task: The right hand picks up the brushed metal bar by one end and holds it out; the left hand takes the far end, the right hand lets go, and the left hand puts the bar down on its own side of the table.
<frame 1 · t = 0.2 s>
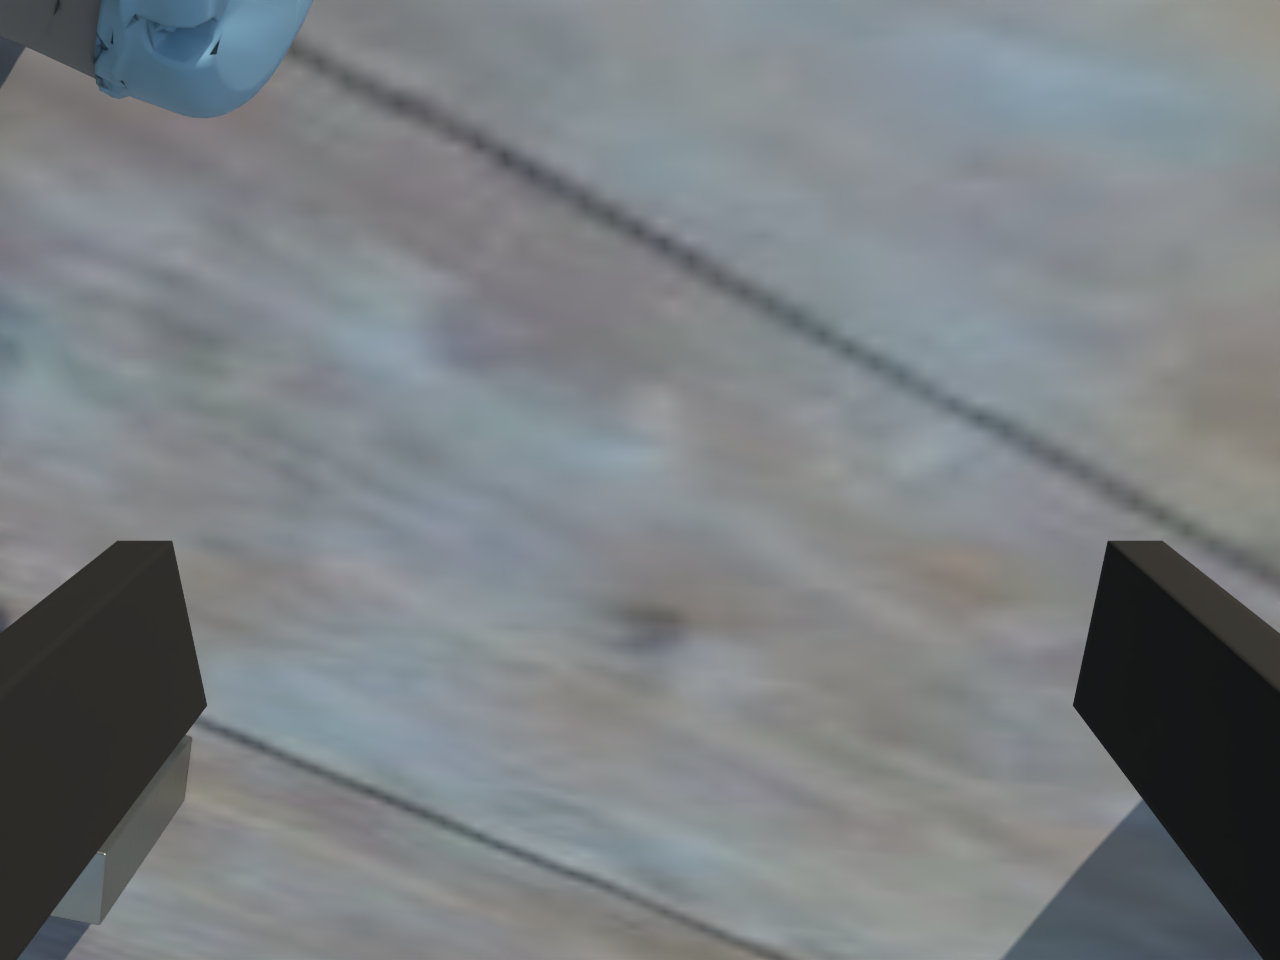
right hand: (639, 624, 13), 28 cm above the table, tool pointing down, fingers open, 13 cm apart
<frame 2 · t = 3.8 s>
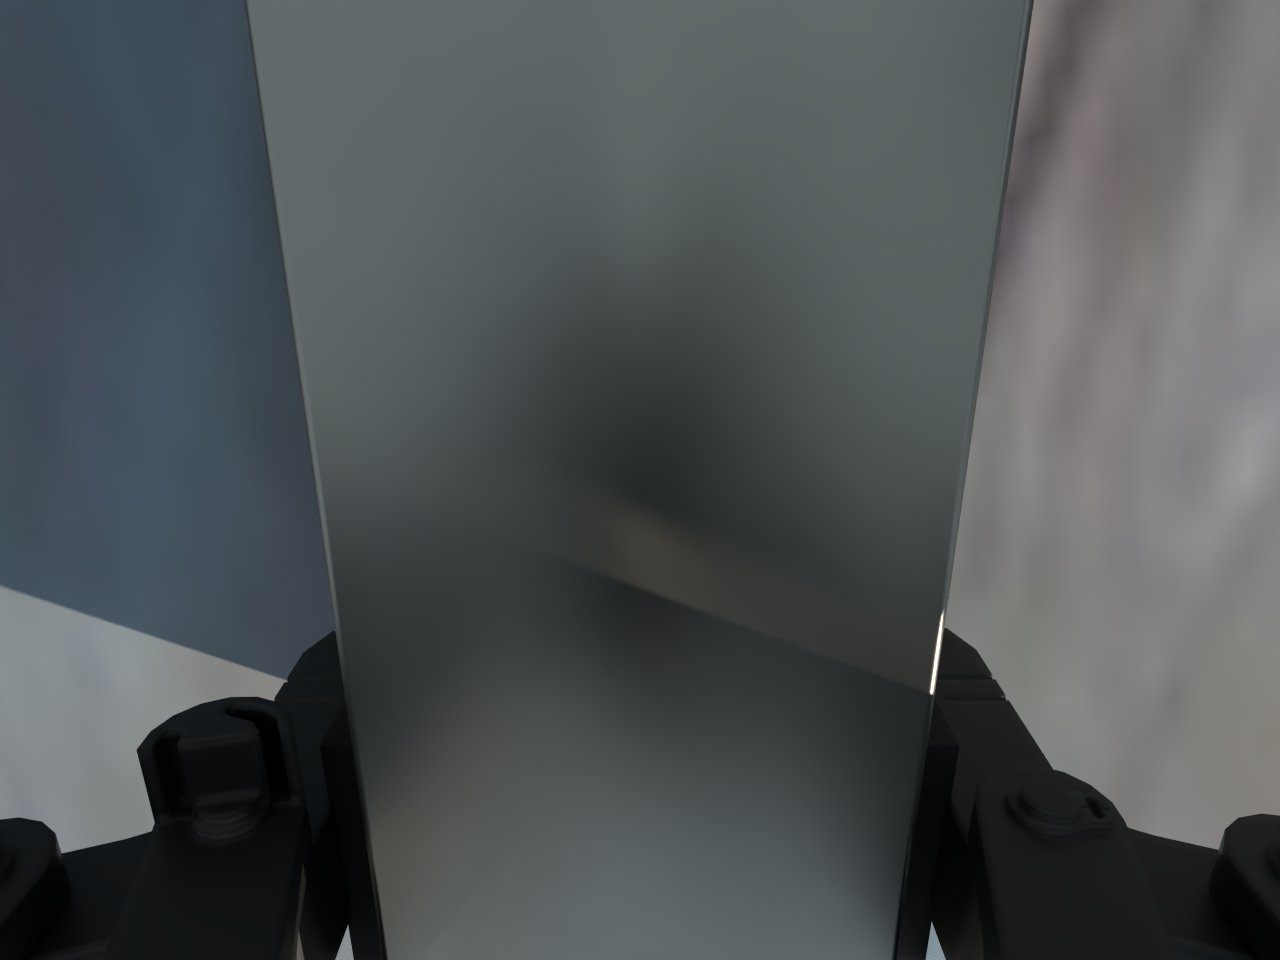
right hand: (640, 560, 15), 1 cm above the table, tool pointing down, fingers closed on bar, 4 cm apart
bar: (639, 24, 12), on the table, touching right hand
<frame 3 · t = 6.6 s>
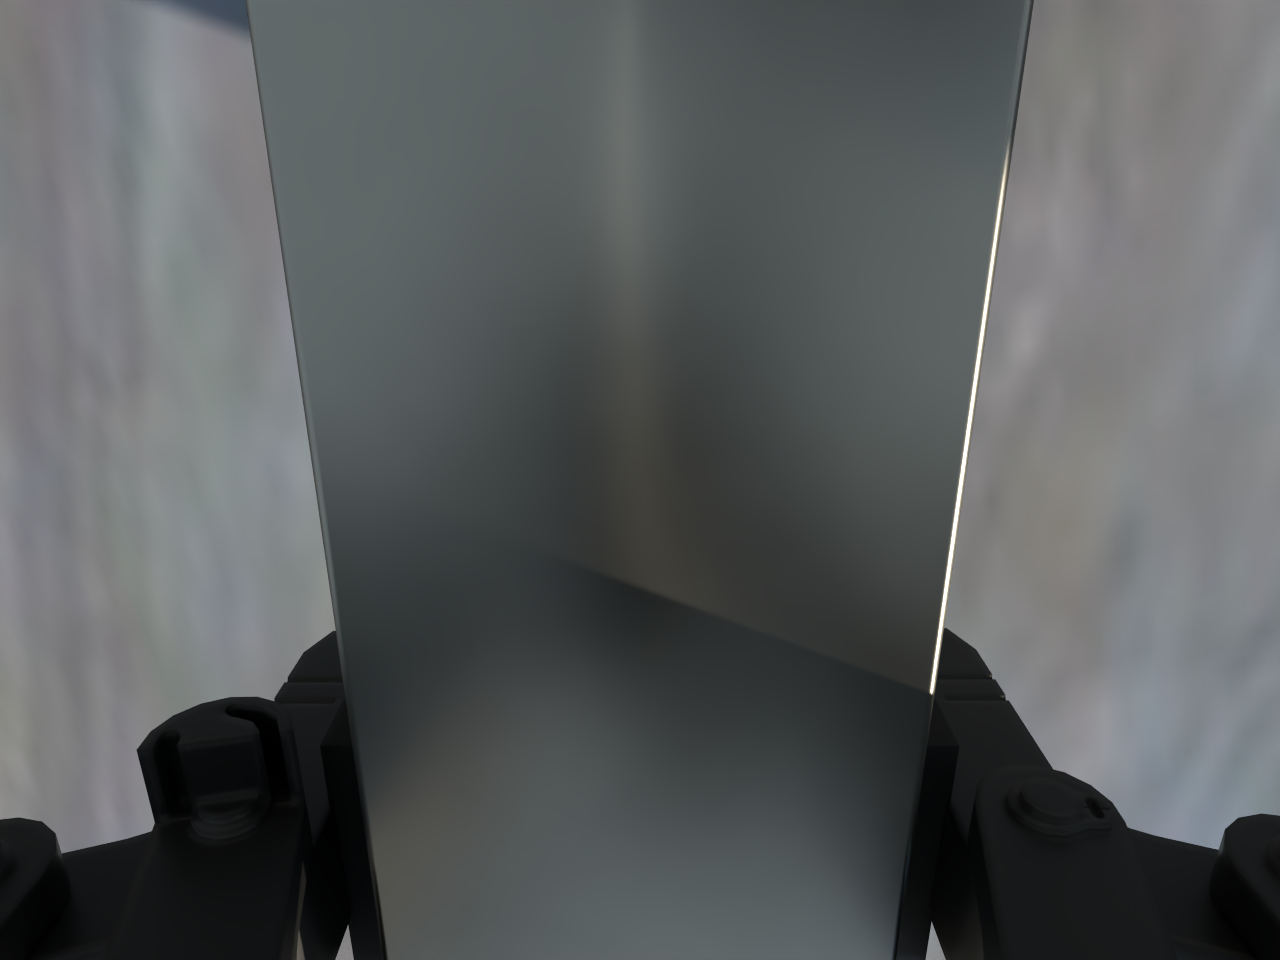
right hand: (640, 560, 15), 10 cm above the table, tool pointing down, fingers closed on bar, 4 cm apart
bar: (639, 23, 12), point 9 cm above the table, touching right hand
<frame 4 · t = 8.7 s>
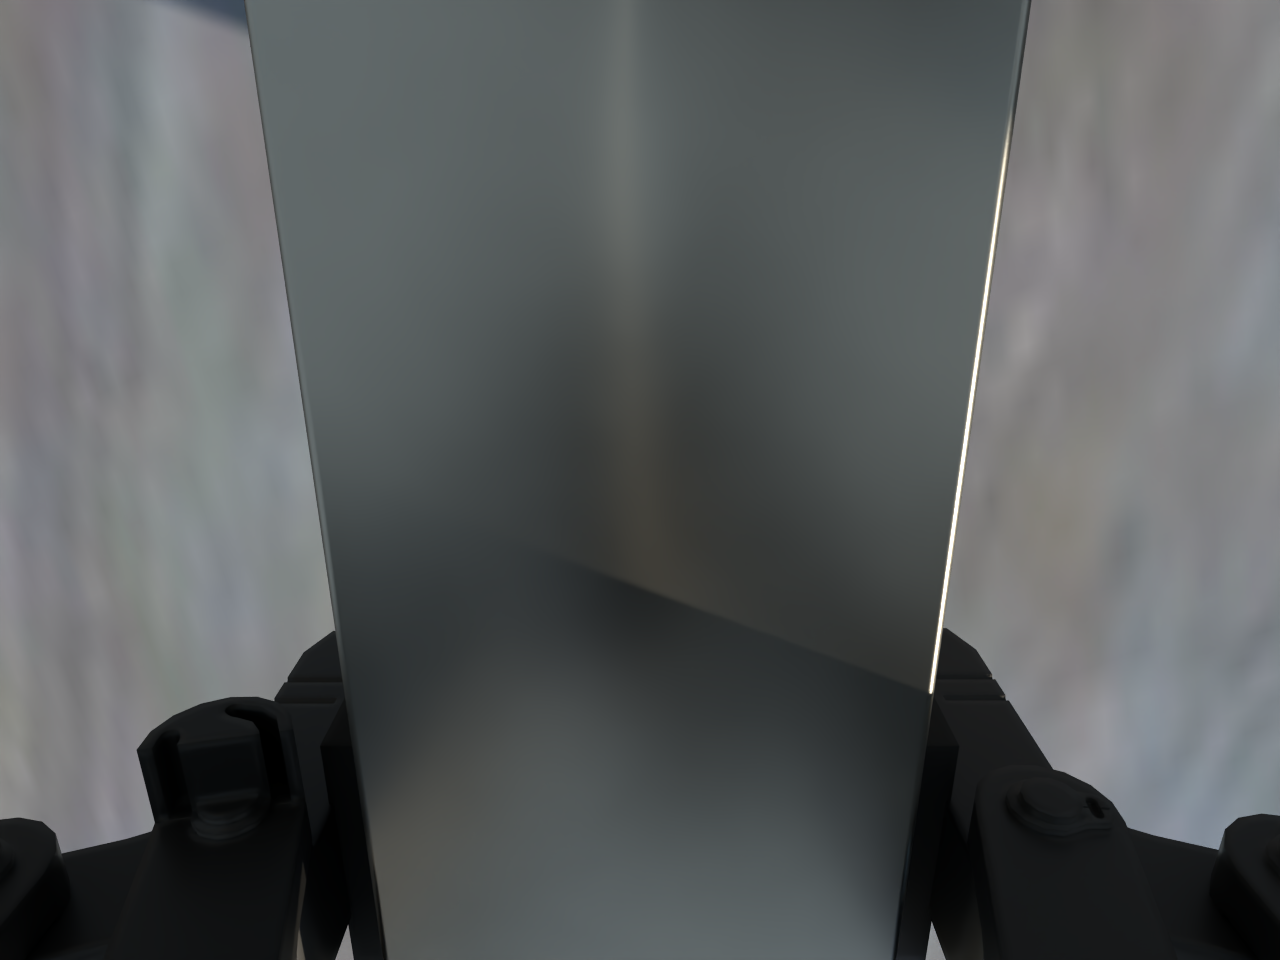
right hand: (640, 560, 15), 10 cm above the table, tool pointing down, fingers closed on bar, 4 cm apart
bar: (638, 23, 12), point 9 cm above the table, touching right hand, left hand
when the right hand's fingers open (10 cm above the table, at t = 9.4 s): bar stays where it is, held by the left hand.
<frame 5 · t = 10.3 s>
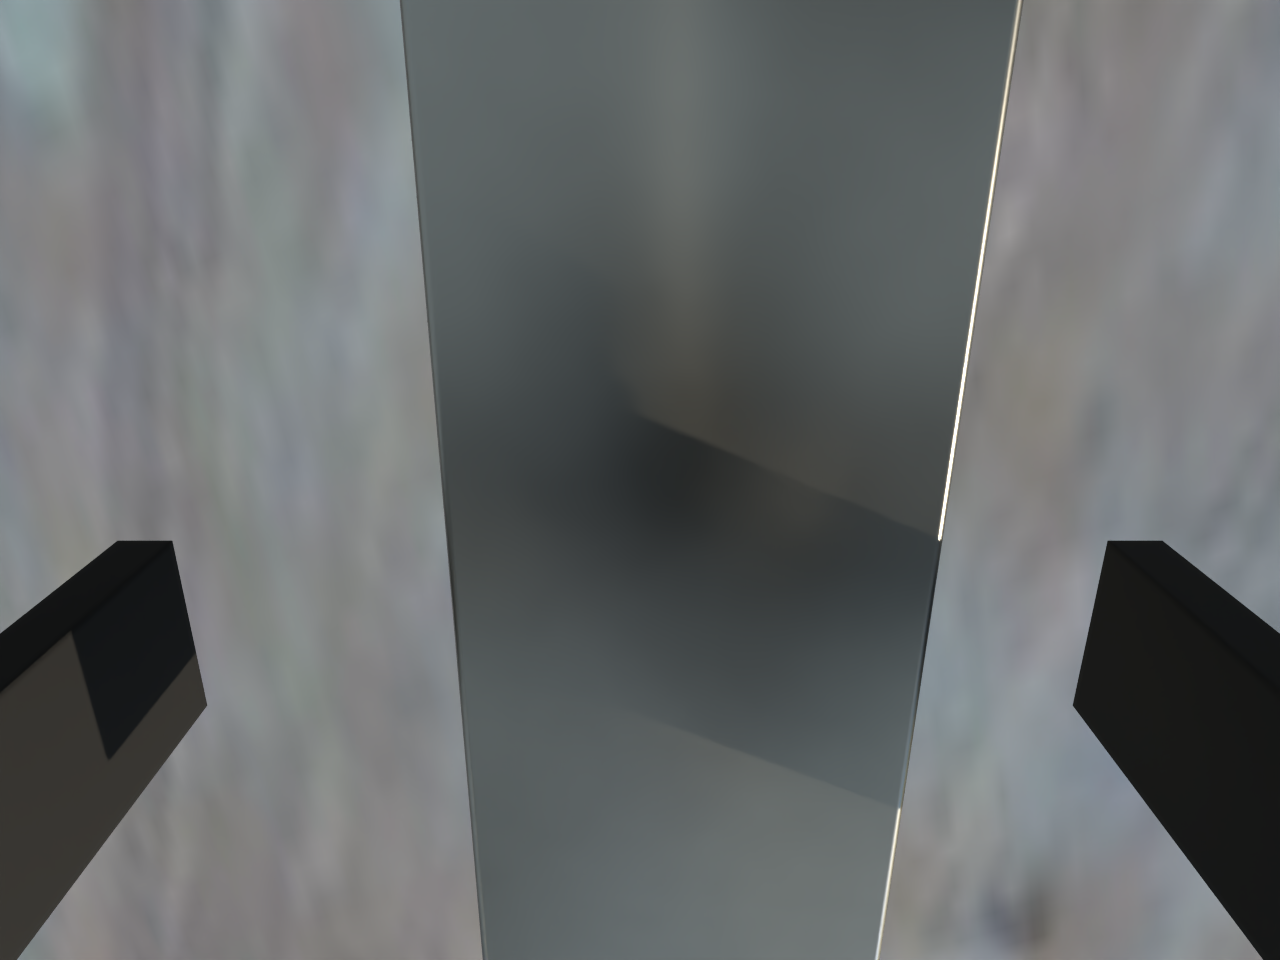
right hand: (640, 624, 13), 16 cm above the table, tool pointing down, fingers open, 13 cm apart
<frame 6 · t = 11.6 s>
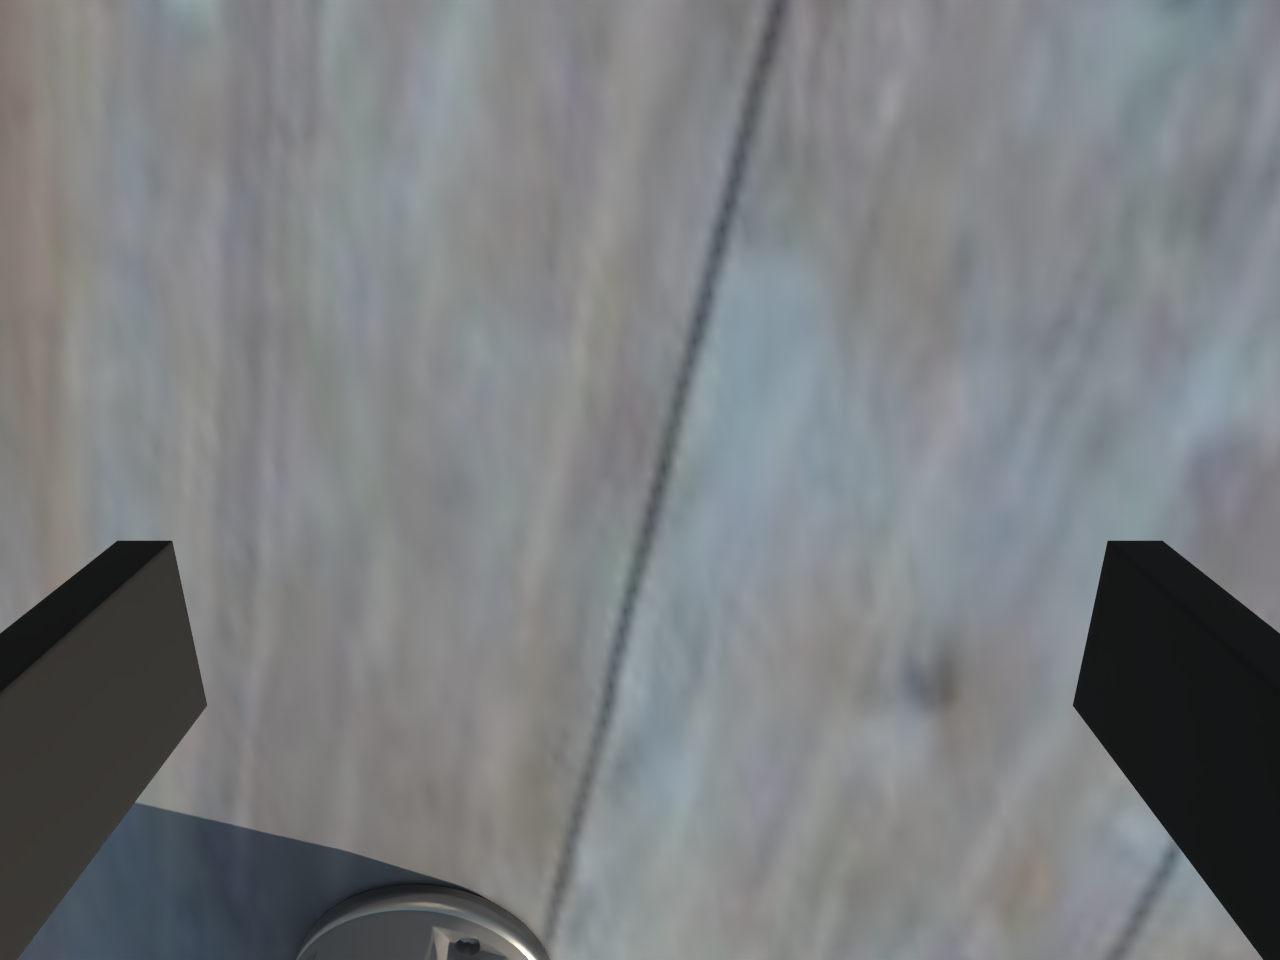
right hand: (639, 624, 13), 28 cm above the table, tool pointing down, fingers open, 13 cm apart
when the left hand's fingers open (2 cm above the table, at t = 14.3 s): bar stays where it is, on the table.
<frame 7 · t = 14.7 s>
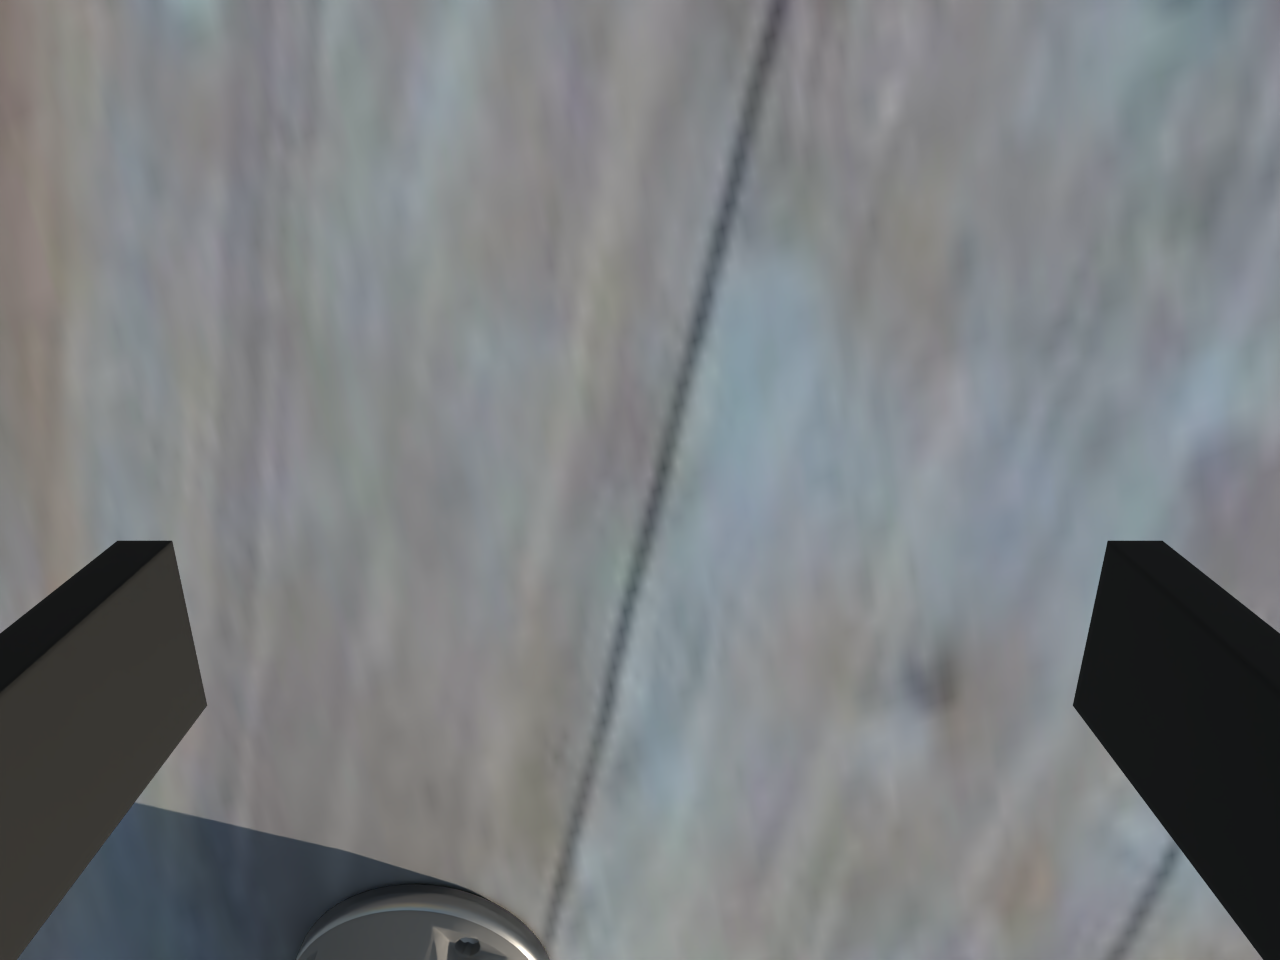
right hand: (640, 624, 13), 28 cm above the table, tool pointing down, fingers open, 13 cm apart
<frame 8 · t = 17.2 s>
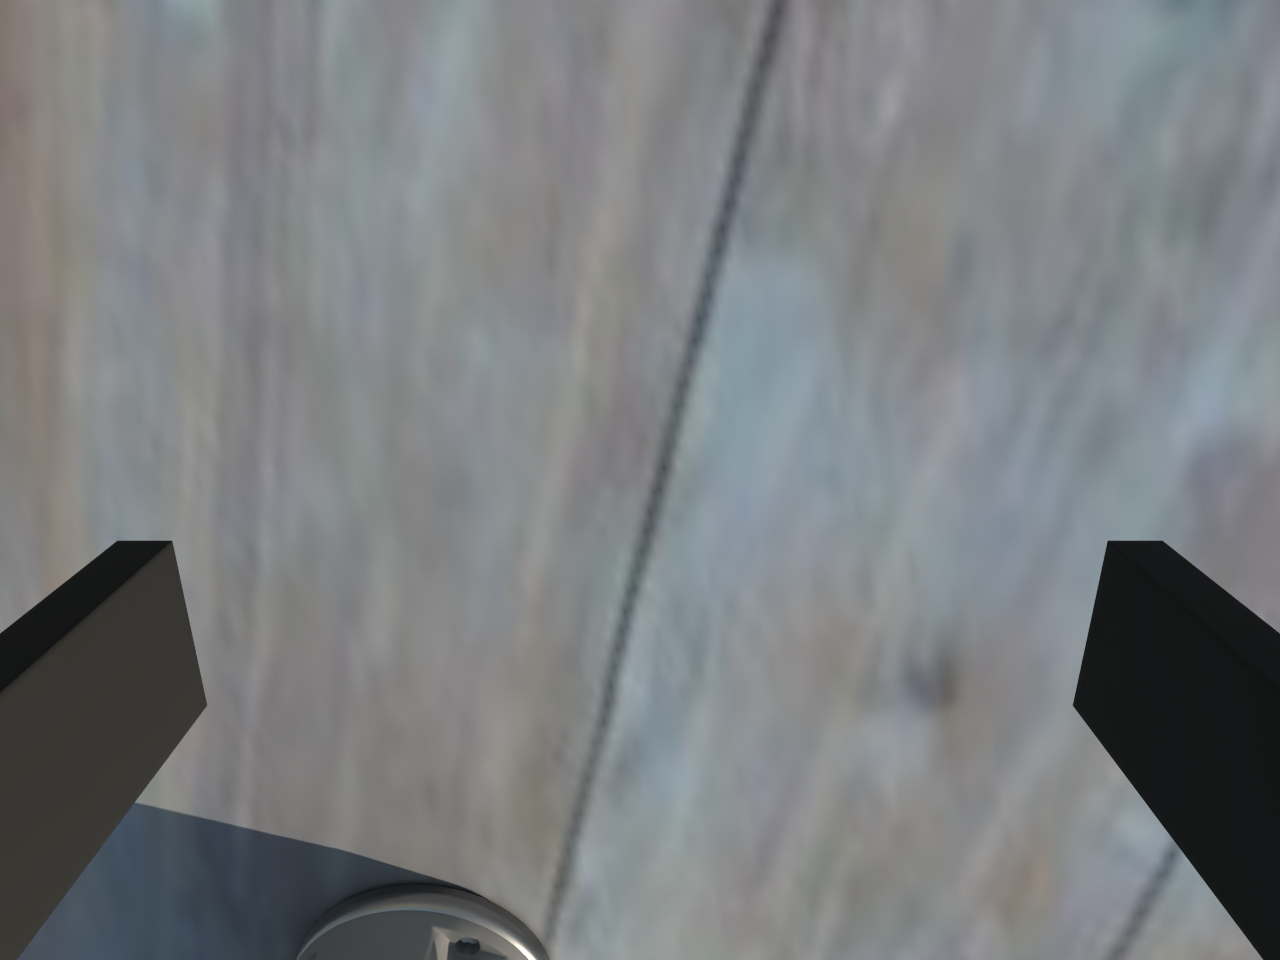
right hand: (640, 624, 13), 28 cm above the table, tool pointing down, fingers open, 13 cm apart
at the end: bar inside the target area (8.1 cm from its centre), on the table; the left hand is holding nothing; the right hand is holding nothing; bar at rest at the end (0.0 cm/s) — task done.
